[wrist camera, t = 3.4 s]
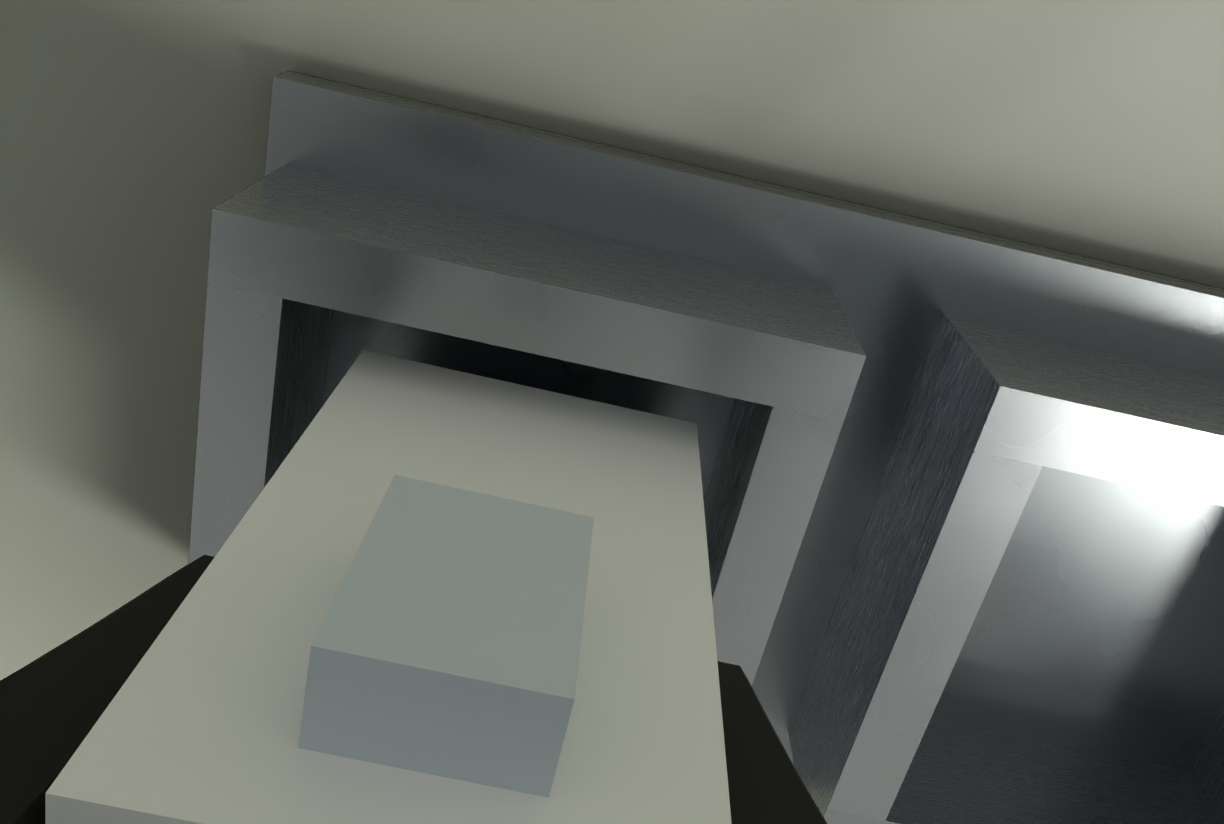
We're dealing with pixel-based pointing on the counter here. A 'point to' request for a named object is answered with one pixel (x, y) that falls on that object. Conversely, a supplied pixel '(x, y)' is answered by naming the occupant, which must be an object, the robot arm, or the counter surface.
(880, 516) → the panel
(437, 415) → the plug
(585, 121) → the counter surface
